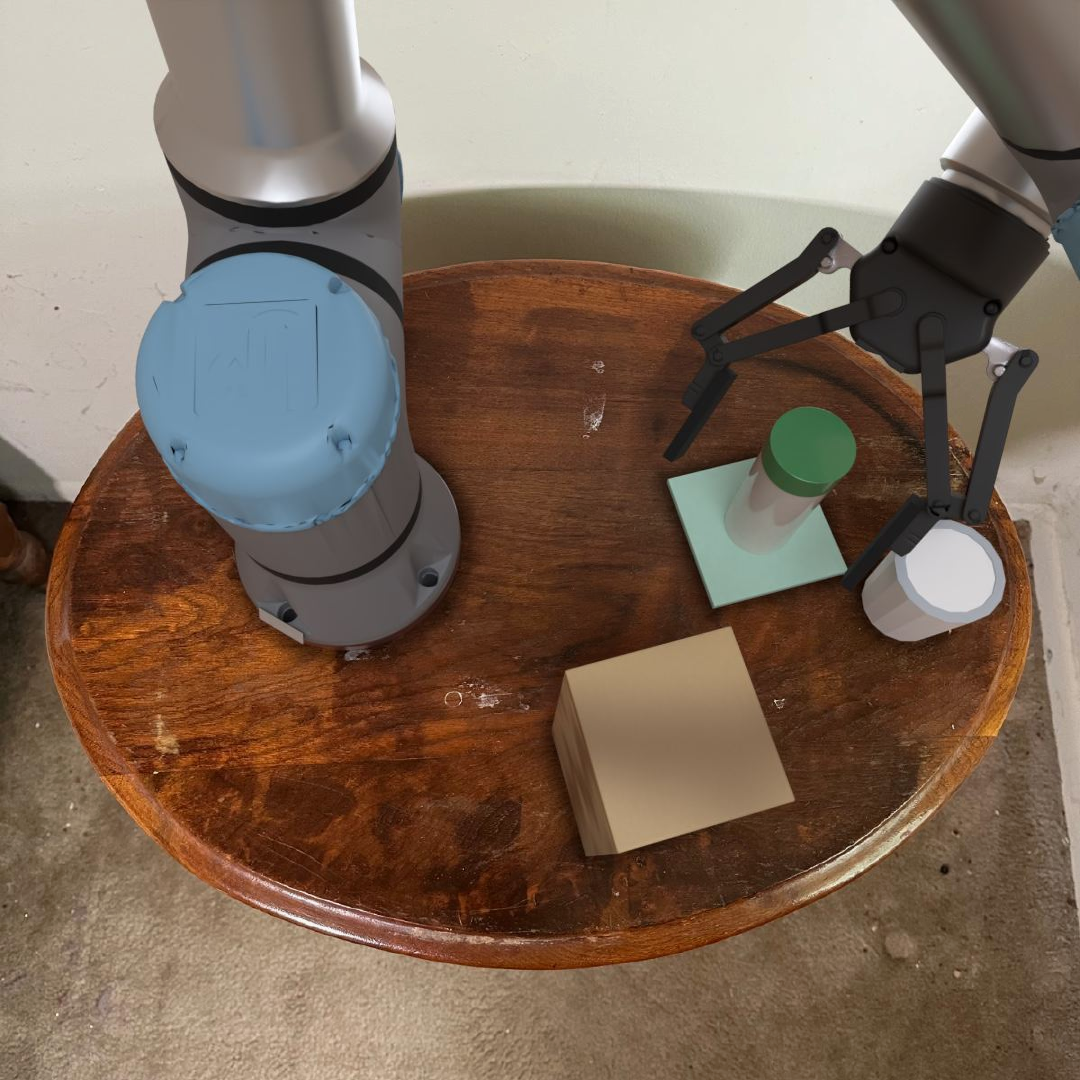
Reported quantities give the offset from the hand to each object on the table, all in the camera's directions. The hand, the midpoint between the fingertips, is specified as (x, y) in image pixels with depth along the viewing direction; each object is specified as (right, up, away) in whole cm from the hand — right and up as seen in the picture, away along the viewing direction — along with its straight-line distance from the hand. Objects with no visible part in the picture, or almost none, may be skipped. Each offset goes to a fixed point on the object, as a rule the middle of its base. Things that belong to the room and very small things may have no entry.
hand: (757, 517), depth 53 cm
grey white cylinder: (+11, -6, +5) cm, 13 cm away
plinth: (-8, -16, 0) cm, 18 cm away
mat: (+1, 0, +6) cm, 6 cm away
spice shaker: (+2, 0, +6) cm, 6 cm away
